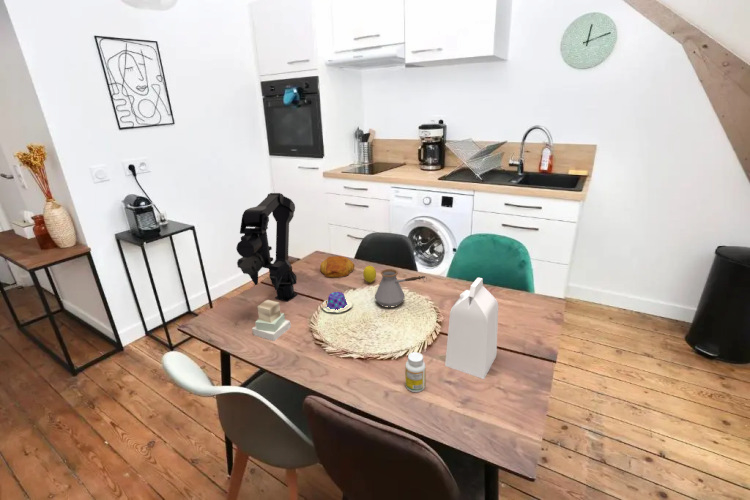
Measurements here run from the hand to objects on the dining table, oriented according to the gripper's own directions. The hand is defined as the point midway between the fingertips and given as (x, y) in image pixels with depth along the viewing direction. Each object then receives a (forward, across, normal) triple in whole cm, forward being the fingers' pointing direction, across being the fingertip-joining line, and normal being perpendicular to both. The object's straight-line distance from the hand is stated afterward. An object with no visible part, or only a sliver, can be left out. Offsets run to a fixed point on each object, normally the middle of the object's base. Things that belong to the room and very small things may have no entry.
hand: (266, 286), depth 135 cm
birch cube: (+7, +6, -7) cm, 12 cm away
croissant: (+14, +1, +44) cm, 46 cm away
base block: (+13, +6, -6) cm, 16 cm away
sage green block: (+10, +6, -7) cm, 14 cm away
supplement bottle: (+12, +60, -12) cm, 63 cm away
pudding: (+14, +18, +17) cm, 28 cm away
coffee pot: (+13, +40, +27) cm, 50 cm away
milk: (+13, +72, +5) cm, 73 cm away
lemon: (+14, +20, +40) cm, 47 cm away
